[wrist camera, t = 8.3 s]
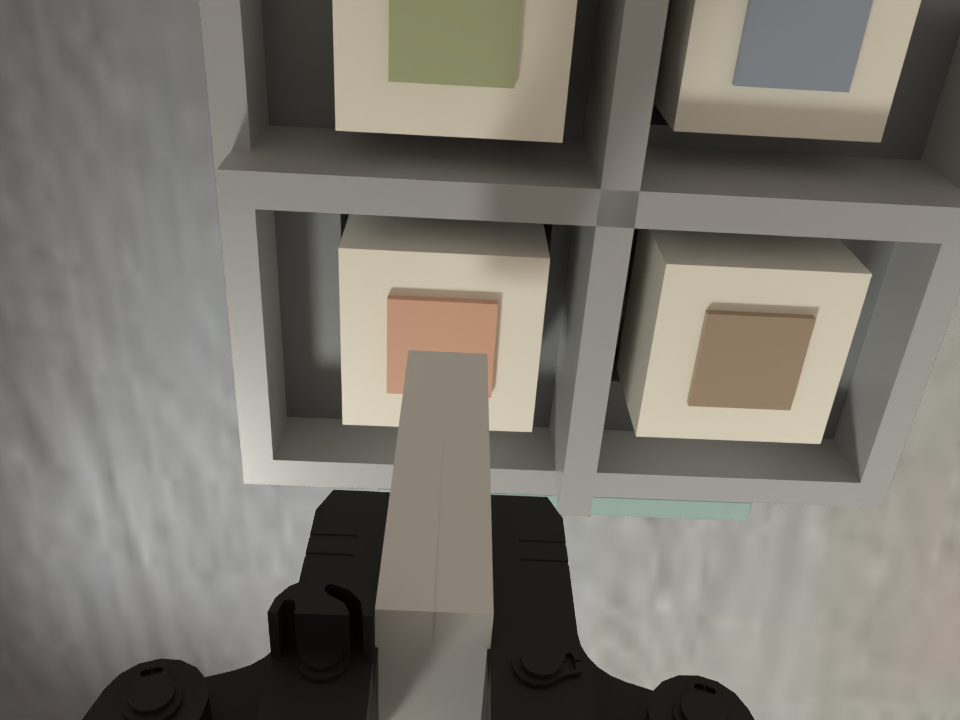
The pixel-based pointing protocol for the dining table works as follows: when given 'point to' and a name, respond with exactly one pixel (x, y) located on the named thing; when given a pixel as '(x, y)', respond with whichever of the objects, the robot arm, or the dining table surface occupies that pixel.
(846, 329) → the key
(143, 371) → the dining table surface
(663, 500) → the keypad
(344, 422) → the key
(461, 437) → the robot arm
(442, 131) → the key
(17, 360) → the dining table surface
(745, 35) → the key
